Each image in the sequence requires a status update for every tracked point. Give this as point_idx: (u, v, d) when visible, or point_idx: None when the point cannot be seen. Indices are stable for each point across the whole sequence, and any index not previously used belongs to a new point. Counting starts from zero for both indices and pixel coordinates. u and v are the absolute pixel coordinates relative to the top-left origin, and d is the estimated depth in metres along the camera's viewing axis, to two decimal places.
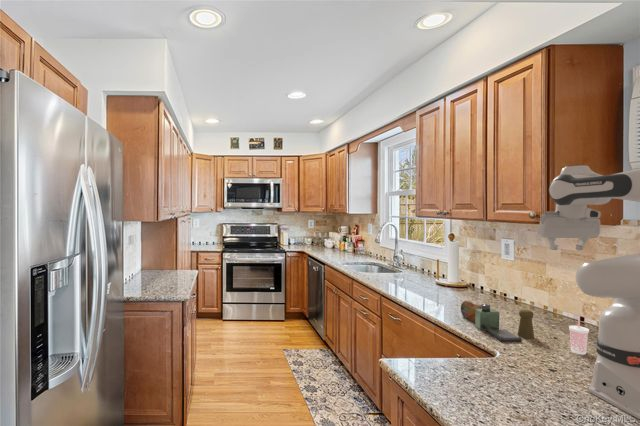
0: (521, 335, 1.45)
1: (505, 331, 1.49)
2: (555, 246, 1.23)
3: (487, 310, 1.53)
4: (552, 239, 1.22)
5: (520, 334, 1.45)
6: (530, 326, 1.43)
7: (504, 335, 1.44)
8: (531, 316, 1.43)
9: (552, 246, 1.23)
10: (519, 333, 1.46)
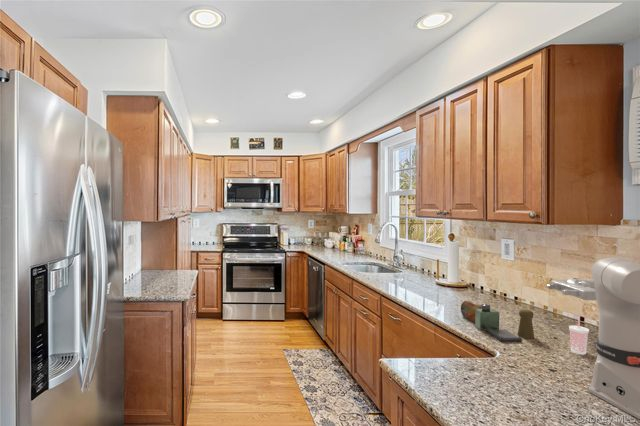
0: (521, 335, 1.45)
1: (505, 331, 1.49)
2: None
3: (487, 310, 1.53)
4: (575, 295, 1.40)
5: (520, 334, 1.45)
6: (530, 326, 1.43)
7: (504, 335, 1.44)
8: (531, 316, 1.43)
9: (567, 293, 1.40)
10: (519, 333, 1.46)
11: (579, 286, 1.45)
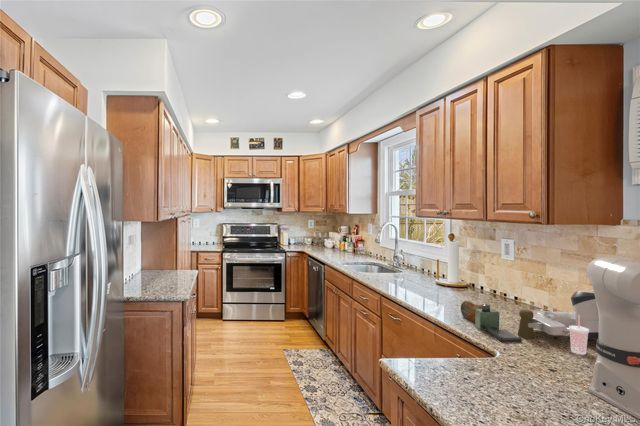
0: (521, 335, 1.44)
1: (505, 331, 1.49)
2: None
3: (487, 310, 1.53)
4: None
5: (520, 333, 1.45)
6: None
7: (504, 335, 1.44)
8: (531, 316, 1.43)
9: (531, 326, 1.43)
10: (519, 333, 1.46)
11: (547, 319, 1.45)
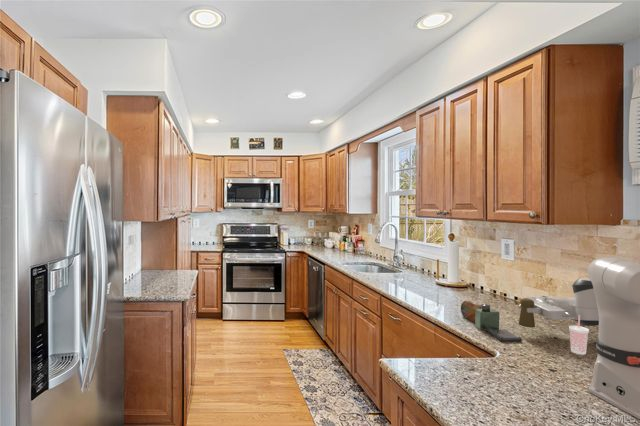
0: (523, 324, 1.44)
1: (505, 331, 1.49)
2: None
3: (487, 310, 1.53)
4: None
5: (522, 323, 1.44)
6: (532, 315, 1.43)
7: (504, 335, 1.44)
8: (532, 305, 1.43)
9: (530, 311, 1.43)
10: (521, 322, 1.45)
11: (547, 305, 1.45)
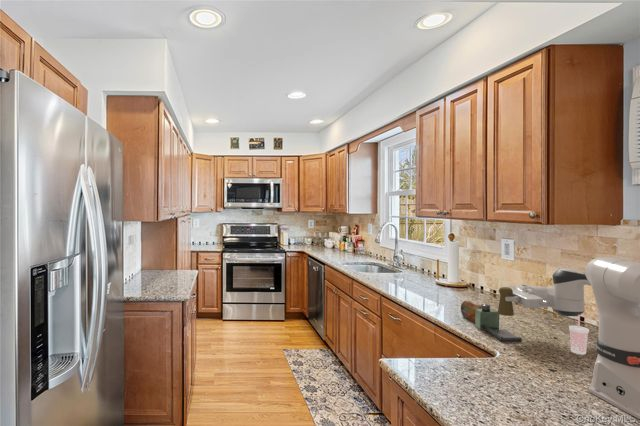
0: (501, 313, 1.43)
1: (505, 331, 1.49)
2: None
3: (487, 310, 1.53)
4: (516, 301, 1.42)
5: (501, 311, 1.43)
6: (510, 303, 1.43)
7: (504, 335, 1.44)
8: (511, 293, 1.42)
9: (509, 299, 1.42)
10: (499, 311, 1.44)
11: (525, 293, 1.45)
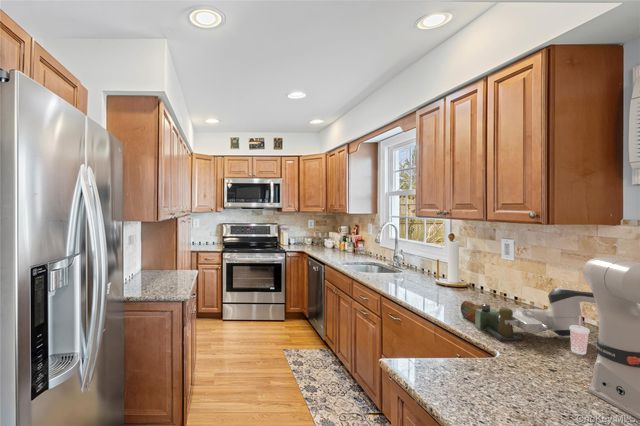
0: (501, 334, 1.44)
1: None
2: None
3: (487, 310, 1.53)
4: None
5: (501, 332, 1.44)
6: None
7: None
8: (511, 314, 1.43)
9: None
10: (499, 332, 1.45)
11: (525, 317, 1.45)
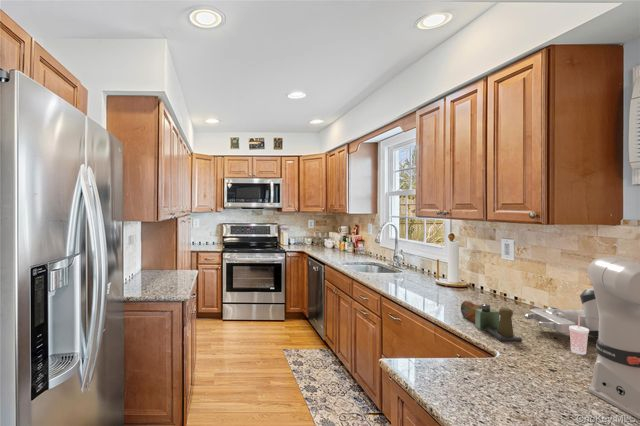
0: (501, 334, 1.44)
1: None
2: None
3: (487, 310, 1.53)
4: None
5: (501, 332, 1.44)
6: (510, 324, 1.43)
7: None
8: (511, 314, 1.43)
9: (544, 325, 1.40)
10: (499, 332, 1.45)
11: (556, 317, 1.45)
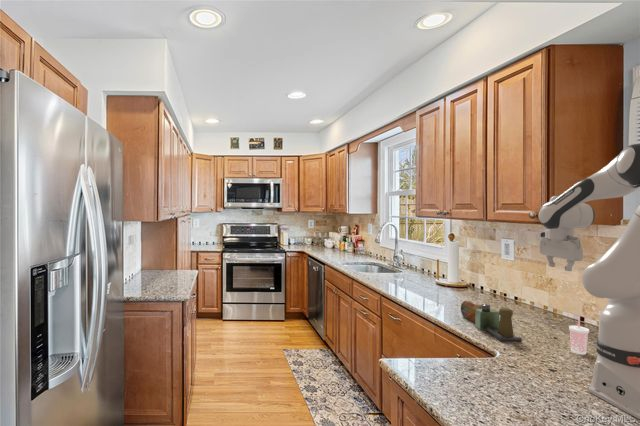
0: (501, 334, 1.44)
1: None
2: None
3: (487, 310, 1.53)
4: None
5: (501, 332, 1.44)
6: (510, 324, 1.43)
7: None
8: (511, 314, 1.43)
9: (570, 268, 1.36)
10: (499, 332, 1.45)
11: (557, 245, 1.40)
